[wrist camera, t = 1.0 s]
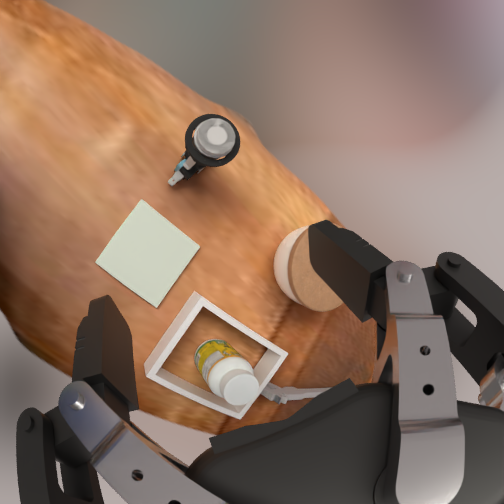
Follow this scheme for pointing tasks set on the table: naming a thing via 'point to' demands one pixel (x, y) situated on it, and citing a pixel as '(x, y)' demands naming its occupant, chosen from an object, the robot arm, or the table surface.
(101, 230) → the table surface
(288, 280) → the lidded jar
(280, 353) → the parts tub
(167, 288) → the rubber mat
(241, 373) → the supplement bottle
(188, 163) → the push button
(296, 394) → the caliper
